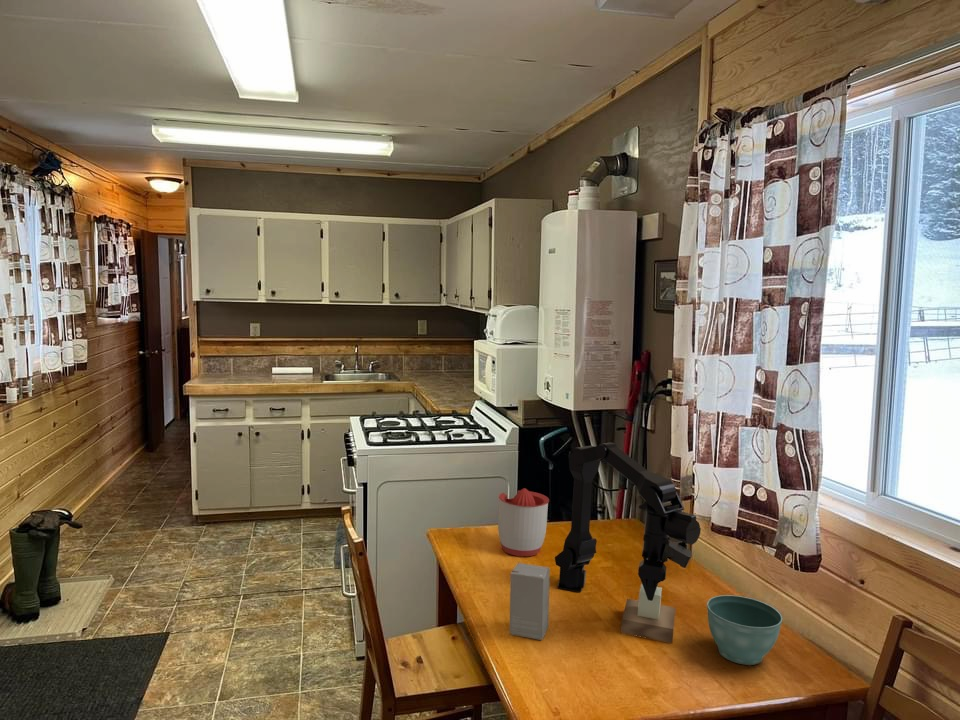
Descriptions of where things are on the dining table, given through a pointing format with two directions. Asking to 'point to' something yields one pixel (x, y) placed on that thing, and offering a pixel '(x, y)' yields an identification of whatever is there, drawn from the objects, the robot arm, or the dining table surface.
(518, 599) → the skincare box
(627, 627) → the walnut block
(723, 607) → the flower pot
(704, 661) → the dining table surface
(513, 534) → the citrus juicer
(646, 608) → the sage block
